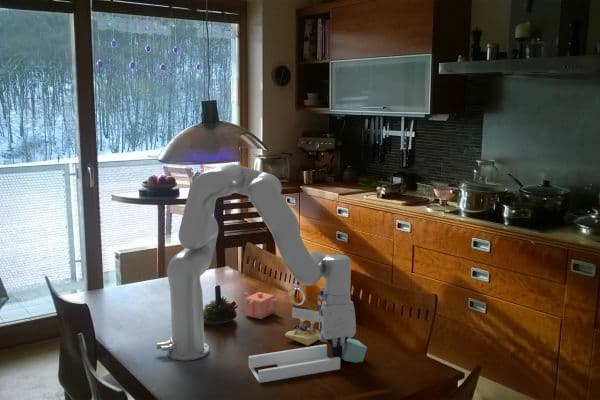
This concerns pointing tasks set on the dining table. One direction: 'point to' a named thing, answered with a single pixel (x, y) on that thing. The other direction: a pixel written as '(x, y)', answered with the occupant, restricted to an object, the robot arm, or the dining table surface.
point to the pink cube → (259, 305)
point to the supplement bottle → (320, 301)
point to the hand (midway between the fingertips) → (336, 357)
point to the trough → (293, 363)
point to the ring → (301, 292)
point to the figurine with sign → (304, 333)
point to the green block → (353, 350)
